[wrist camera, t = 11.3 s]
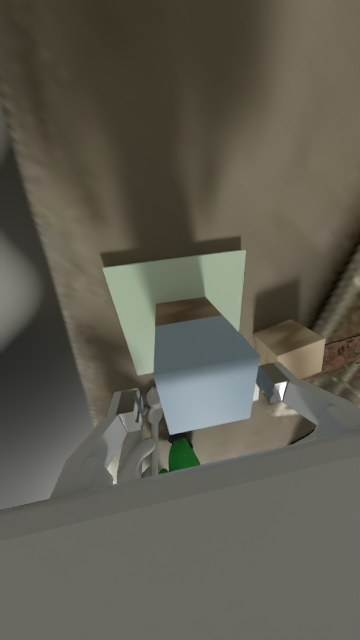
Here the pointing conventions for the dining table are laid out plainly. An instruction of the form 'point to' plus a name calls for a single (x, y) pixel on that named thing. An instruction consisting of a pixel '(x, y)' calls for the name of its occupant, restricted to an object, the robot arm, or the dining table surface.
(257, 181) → the dining table surface
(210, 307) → the walnut brick
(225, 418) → the blue brick
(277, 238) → the dining table surface
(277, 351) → the oak brick
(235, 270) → the plate
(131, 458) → the figurine
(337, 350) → the bark
